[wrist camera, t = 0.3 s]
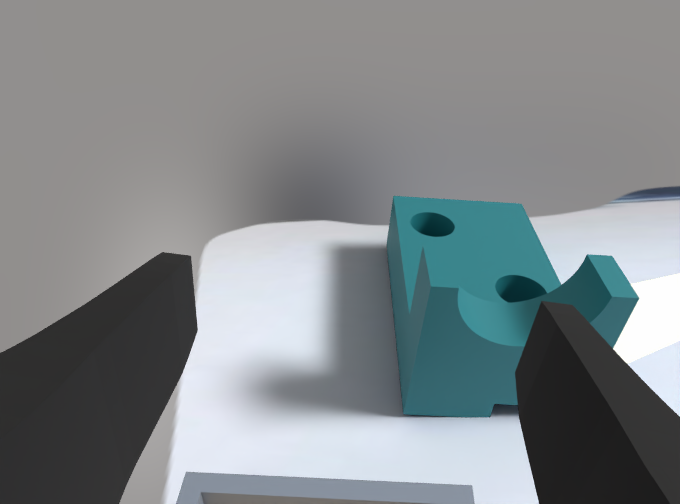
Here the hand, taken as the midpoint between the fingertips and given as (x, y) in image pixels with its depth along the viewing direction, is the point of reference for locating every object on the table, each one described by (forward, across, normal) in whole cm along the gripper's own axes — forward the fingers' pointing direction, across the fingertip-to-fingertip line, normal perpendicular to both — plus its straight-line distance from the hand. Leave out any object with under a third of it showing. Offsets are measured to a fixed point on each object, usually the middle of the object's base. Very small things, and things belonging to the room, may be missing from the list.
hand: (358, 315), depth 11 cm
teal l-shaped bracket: (+24, -8, +19) cm, 32 cm away
